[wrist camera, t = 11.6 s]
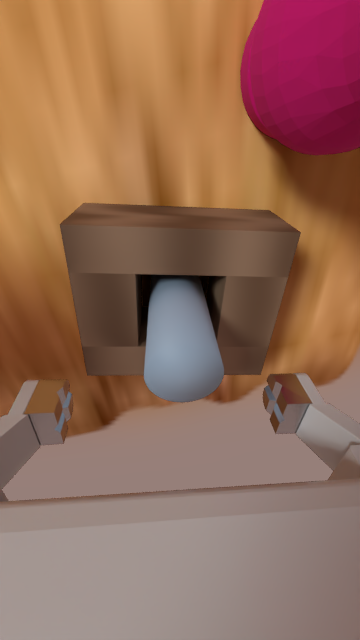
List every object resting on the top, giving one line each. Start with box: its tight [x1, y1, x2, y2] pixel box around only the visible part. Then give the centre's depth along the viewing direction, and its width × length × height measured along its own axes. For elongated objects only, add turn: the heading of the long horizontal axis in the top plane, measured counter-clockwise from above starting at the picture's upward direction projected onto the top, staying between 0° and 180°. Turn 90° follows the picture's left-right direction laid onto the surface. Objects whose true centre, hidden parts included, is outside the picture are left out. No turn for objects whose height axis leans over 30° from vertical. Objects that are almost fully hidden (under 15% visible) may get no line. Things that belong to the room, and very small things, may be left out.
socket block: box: [60, 203, 301, 375], centre depth 19 cm, size 12×10×5 cm
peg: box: [144, 274, 224, 402], centre depth 17 cm, size 4×4×10 cm
